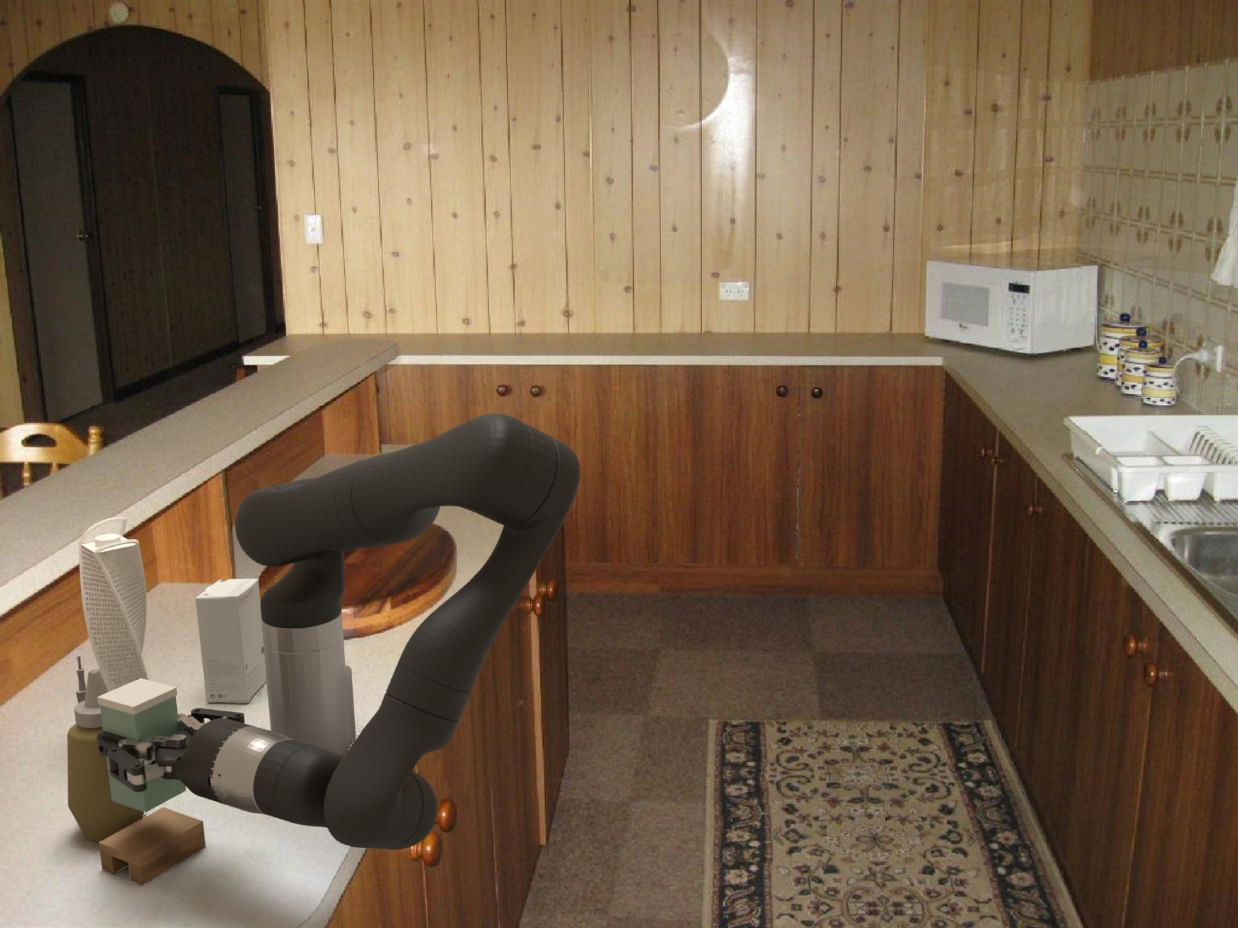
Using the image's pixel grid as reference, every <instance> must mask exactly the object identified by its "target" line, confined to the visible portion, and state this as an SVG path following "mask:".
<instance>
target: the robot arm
mask: <svg viewBox="0 0 1238 928" xmlns="http://www.w3.org/2000/svg"><path fill="white" fill-rule="evenodd" d="M580 479H581V465H580V460H579V458H578V456H577V454H576V452H575V451H574V450H573V449H572V448H571V447H570V446H569V445H567V444H566V443H564V442H562V441H561V440H559V439H557V438H554V437H553V436H552V435H549V434H546V433H544V432H543V431H541V430H539V429H537V428H536V427H533V426H531V425H529V424H527V423H525V422H523V421H521V419H518V418H516V417H513V416H512V415H511V416H510V415H507V414H503V413H487V414H483V415H482V414H481V415H479V416H477V417H474V418H472V419H470V420H467V421H466V422H462V423H461V424H458V425H457V426H455V427H453V428H451V429H449V430H447V431H445V432H442V433H440V434H439V435H437V436H434V437H432V438H430V439H427V440H425V441H421V442H419V443H415V444H413V445H410V446H407V447H404V448H402V449H398V450H394V451H391V452H390V451H389V452H388V453H387V452H386V453H382V454H378V455H375V456H371V457H367V458H365V459H361V460H358V461H355V462H353V463H350V464H348V465H344V466H341V467H340V468H337V469H334V470H333V471H330V472H327V473H324V474H323V475H320V476H318V477H310V478H304V479H298V480H293V481H289V482H284V483H280V484H273V485H270V486H264V487H260V488H258V489H256V490H254V491H253V490H252V492H250V493H249V494H248V495H246V496H245V498H244V499H243V500H242V501H241V503H240V505H239V507H238V509H237V512H236V514H235V515H236V516H235V521H234V529H235V531H234V532H235V536H236V540H237V542H238V544H239V546H240V548H241V550H242V551H243V552H244V553H245V555H246V556H248V557H249V558H250V560H252V561H253V562H255V563H256V564H259V565H261V566H264V567H269V568H277V567H283V566H287V565H292V566H291V567H290V569H289V570H288V571H287V573H285V575H284V576H282V577H281V578H280V579H279V580H278V581H277V582H275V583H274V584H272V585H271V586H270V587H269V588H268V589H266V590H265V591H264V592H263V594H262V596H261V597H260V609H261V621H262V633H263V643H264V655H265V667H266V679H267V682H266V688H267V690H266V691H267V701H268V712H269V727H270V730H269V729H266V728H262V727H258V726H255V725H251V724H247V723H246V720H245V713H244V712H239V711H237V712H236V711H228V710H223V709H222V710H220V709H214V708H213V709H211V708H202V707H196V708H193V709H191V710H190V714H188V715H186V714H185V713H183V712H181V713H178V721H177V725H178V726H179V730H180V731H178V732H176V733H175V734H174V735H172V736H155V735H147V736H146V737H145V738H144V739H138V740H136V739H127V738H126V737H123V736H119V735H116V734H113V733H110V732H106V731H103V732H101V733H99V734H97V748H98V753H99V754H100V755H102V756H106V757H109V765H110V775H111V776H112V777H114V778H115V779H116V780H118V781H119V782H121V783H122V784H124V785H125V786H127V787H128V788H130V789H131V790H133V791H134V792H142V791H145V790H146V789H147V783H146V782H147V781H149V780H152V779H155V778H157V777H161V778H163V779H168V780H170V779H175V780H180V781H181V782H182V783H183V784H184V785H185V786H186V789H187V790H189V792H191V793H192V794H193V795H196V797H200V798H203V799H206V800H209V801H213V802H216V803H219V804H222V805H225V806H228V807H231V808H234V809H237V810H240V811H244V812H247V813H252V814H260V815H266V816H269V817H272V818H276V819H279V820H282V821H285V822H287V823H288V822H289V823H290V824H295V825H299V826H305V827H315V828H316V827H318V828H327V831H328V832H329V834H330V835H331V836H332V838H333V839H334V840H336V842H338V843H340V844H342V845H343V846H348V847H350V848H360V849H374V850H375V849H376V850H378V849H379V850H391V851H397V850H398V851H400V850H406V849H408V848H409V849H410V848H411V847H413V846H415V845H418V843H420V842H422V841H423V840H425V839H426V838H427V836H429V834H430V833H431V831H432V830H433V828H434V826H435V824H436V823H437V822H436V821H437V818H438V812H439V807H438V806H439V805H438V798H437V795H436V793H435V791H434V789H433V787H432V785H431V784H430V782H429V781H428V780H427V779H426V778H425V777H424V776H423V775H421V774H419V773H418V772H416V771H413V770H414V769H415V767H416V765H417V764H418V762H419V761H420V760H421V759H422V758H423V757H424V756H425V755H427V754H429V753H433V752H436V751H438V750H439V751H440V750H441V749H443V748H445V747H447V745H448V744H449V743H450V741H451V740H452V738H453V737H454V735H455V732H456V731H457V728H458V725H459V723H460V722H459V721H461V719H462V716H463V713H464V710H465V709H466V706H467V703H468V701H469V698H470V696H471V693H472V691H473V689H474V686H475V684H476V681H477V679H478V676H479V673H480V671H481V670H482V666H483V665H484V662H485V660H486V659H487V656H488V654H489V651H490V650H491V647H492V645H493V643H494V641H495V639H496V638H497V636H498V634H499V632H500V631H501V629H502V627H503V625H504V623H505V622H506V620H507V618H508V617H509V615H510V613H511V612H512V610H513V609H514V607H515V605H516V604H517V602H518V601H519V600H520V597H521V596H522V594H523V592H524V591H525V589H526V587H527V585H528V584H529V582H530V581H531V579H532V578H533V576H534V574H535V572H536V570H537V569H538V567H539V566H540V564H541V562H542V560H543V559H544V557H545V555H546V554H547V551H548V550H549V548H550V546H551V544H552V543H553V541H554V540H555V538H556V535H557V534H558V532H559V531H560V529H561V528H562V525H563V524H564V523H565V520H566V518H567V516H568V514H569V512H570V510H571V508H572V505H573V504H574V501H575V497H576V495H577V491H578V489H579V485H580ZM441 507H456V508H457V507H459V508H462V509H465V510H468V511H471V512H473V513H476V514H478V515H479V516H482V517H483V518H486V519H487V520H488V519H489V520H491V521H493V522H494V523H497V524H500V525H502V526H503V527H502V530H501V533H500V535H499V538H498V540H497V542H496V544H495V547H494V548H493V550H492V552H491V553H490V556H489V557H488V558H487V560H486V561H485V563H484V564H483V565H482V567H480V569H479V570H478V571H477V572H476V573H475V574H474V575H473V576H472V577H471V579H470V580H469V581H468V582H466V583H465V584H464V585H463V586H462V587H461V588H460V589H458V591H456V592H455V593H454V594H453V595H452V596H450V597H449V598H447V599H446V600H445V601H444V602H442V604H440V605H439V606H438V607H437V608H436V609H434V611H432V612H431V613H430V614H429V615H428V616H426V618H425V619H424V620H423V621H422V622H421V623H420V624H419V625H418V626H417V627H416V629H415V630H414V631H413V633H412V634H411V636H410V638H409V640H408V641H407V642H406V644H405V646H404V648H403V651H401V655H400V657H399V659H398V662H397V664H396V666H395V668H394V671H393V674H392V676H391V678H390V681H389V683H388V686H387V688H386V691H385V693H384V695H383V698H382V701H381V703H380V706H379V707H378V709H377V711H376V712H375V713H374V715H373V716H372V718H371V719H370V720H368V722H367V723H366V725H365V726H364V727H363V729H362V730H361V731H360V733H359V735H358V736H357V734H356V733H357V731H356V716H355V701H354V700H355V699H354V688H353V687H354V686H353V674H352V673H353V671H352V668H351V666H350V665H346V655H345V640H344V639H345V638H344V628H343V624H344V623H343V611H342V609H343V608H342V599H343V595H344V591H345V587H346V586H345V585H346V583H345V579H346V578H345V577H346V576H345V551H348V550H359V549H369V548H378V547H379V548H380V547H386V546H390V545H395V544H396V545H397V544H401V543H405V542H408V541H411V540H413V539H416V538H418V537H420V536H421V535H423V534H424V533H426V531H427V530H428V529H429V528H431V526H432V525H433V523H434V522H435V520H436V519H437V517H438V515H439V512H440V509H441ZM205 719H207V720H209V721H207V722H206V721H205ZM353 741H354V742H353ZM352 742H353V743H352ZM351 743H352V744H351ZM153 746H156V748H155V757H156V761H155V757H154V748H153ZM133 749H137V750H139V751H140V757H141V758H135V757H134V751H133ZM344 754H345V755H344Z"/></svg>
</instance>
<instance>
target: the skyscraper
mask: <svg viewBox="0 0 1238 928" xmlns="http://www.w3.org/2000/svg"><path fill="white" fill-rule="evenodd" d="M116 521H121V524H120V525H121V527H120V530H119V533H107V534H101V535H98V536H96V537H94V540H93V541H89V542H85V540H86V538H87V537H88V535H90V533H91V532H92V531H93V530H95V529H96V528H98V527H99V526H102V525H105V524H108V523H110V522H111V523H112V522H116ZM127 521H128V518H127V517H126V516H113V517H109V518H106V519H102V520H99V521H98V522H96V523H94V524H92V525H91V526H90V527H88V528H87V529H85V531H84V532H83V534H82V536H81V538H80V540H79V541H78V562H79V581H80V591H81V600H82V601H81V602H82V610H83V615H84V621H85V625H86V629H87V630H86V631H87V634H88V638H89V642H90V645H91V648H92V652H93V655H94V657H95V661H96V663H97V665H98V670H100V671H101V674H102V676H103V679H104V682H105V684H106V687H107V690H108V692H110V691H112V690H115V689H117V688H119V687H122V686H124V685H126V684H128V683H131V682H133V681H135V680H138V679H140V678H142V679H146V680H150V679H149V676H148V675H149V674H148V672H147V668H146V665H145V662H144V658H143V656H142V655H143V650H144V644H145V636H146V630H147V629H146V628H147V615H148V614H147V612H148V606H147V605H148V603H147V602H148V599H147V598H148V596H147V586H146V585H147V583H146V576H145V570H144V563H143V557H142V553H141V546H140V542H139V539H135V538H134V539H133V538H132V539H131V538H130V539H128V538H126V537H124V534H125V529H126V525H127ZM76 659H77V664H78V665H77V666H78V669H76V674H77V680H78V689H77V690H76V691H75V694H76V699H77V704H79V703H80V702H82V701H84V700H85V696H86V688H87V684H86V681H85V680H86V679H85V669H84V668H83V667H82V661H81V655H76Z"/></svg>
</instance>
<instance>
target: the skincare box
mask: <svg viewBox="0 0 1238 928" xmlns="http://www.w3.org/2000/svg"><path fill="white" fill-rule="evenodd" d="M260 593H261V592H260V583H259V578H230V579H229V578H225V579H218V580H217V581H215V583H213V584H212V585H209V586H207V587H206V588H205V589H204V591H203V592H201V593H200V594H199V595H198V596H196V597H195V605H196V615H197V623H198V633H199V634H198V635H199V641H200V652H201V653H200V654H201V662H202V670H203V680H204V681H203V682H204V689H205V698H206V702H207V703H227V704H228V703H229V704H249V702H250V701H251V699H252V698H253V696H254V695H255V694H256V693H257V692H258V691H259V690H260V689H261V688H262V687H263V686H264V685H265V684H267V679H266V667H265V655H264V643H263V633H262V621H261V609H260V602H261V594H260Z"/></svg>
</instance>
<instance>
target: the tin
mask: <svg viewBox="0 0 1238 928" xmlns="http://www.w3.org/2000/svg"><path fill="white" fill-rule="evenodd" d="M177 690H178V689H177V687H176V686H172V685H168V684H165V683H160V682H157V681H153V680H150V679H149V680H146V679H142V678H140V679H138V680H135V681H133V682H131V683H128V684H126V685H124V686H122V687H119V688H117V689H115V690H112V691H110V692H108V693H105V694H103V695H101V696H98V697H97V699H98V705H100V710H101V718H102V726H103V731H106V732H110V733H113V734H116V735H119V736H123V737H126V738H127V739H136V740H138V739H144V738H145V737H146V736H147V735H155V736H172V735H174V734H175V733H176V732H178V731H180V730H179V726H178V725H177V721H178V714H179V713H178V704H177V696H178V691H177ZM153 748H154V757H155V748H156V746H153ZM133 751H134V757H135V758H141V757H140V751H139V750H137V749H133ZM106 758H107V766H108V774H109V782H110V790H111V798H112V801H114V802H117V803H119V804H122V805H125V806H128V807H131V808H134V809H137V810H140V811H143V812H144V813H148V812H150V811H151V810H153V809H155V808H157V807H159V806H160V805H163V804H164V803H166V802H167V801H169V800H171V799H173V798H175V797H177V796H179V795H180V794H182V793H184V792H186V791H187V787H186V786H185V785H184V784H183V783H182V782H181V781H180V780H175V779H170V780H168V779H163V778H161V777H157V778H155V779H152V780H149V781H147V782H146V783H147V789H146V790H145V791H142V792H134V791H133V790H131V789H130V788H128V787H127V786H125V785H124V784H122V783H121V782H119V781H118V780H116V779H115V778H114V777H112V776H111V775H110V765H109V757H106ZM155 761H156V757H155Z"/></svg>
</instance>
